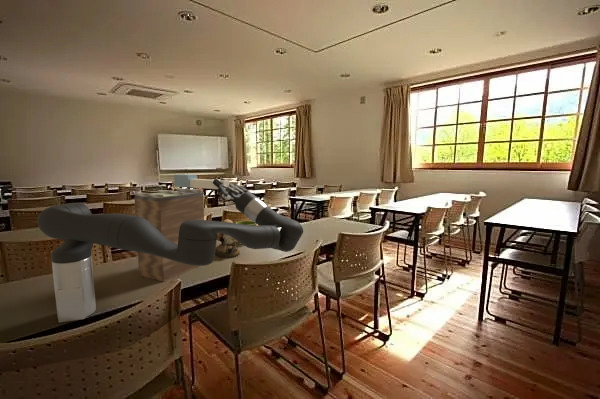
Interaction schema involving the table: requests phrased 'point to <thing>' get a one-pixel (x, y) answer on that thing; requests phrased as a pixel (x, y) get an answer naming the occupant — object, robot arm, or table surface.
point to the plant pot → (246, 222)
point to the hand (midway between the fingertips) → (217, 180)
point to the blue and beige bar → (195, 182)
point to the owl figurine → (226, 245)
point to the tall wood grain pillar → (167, 226)
